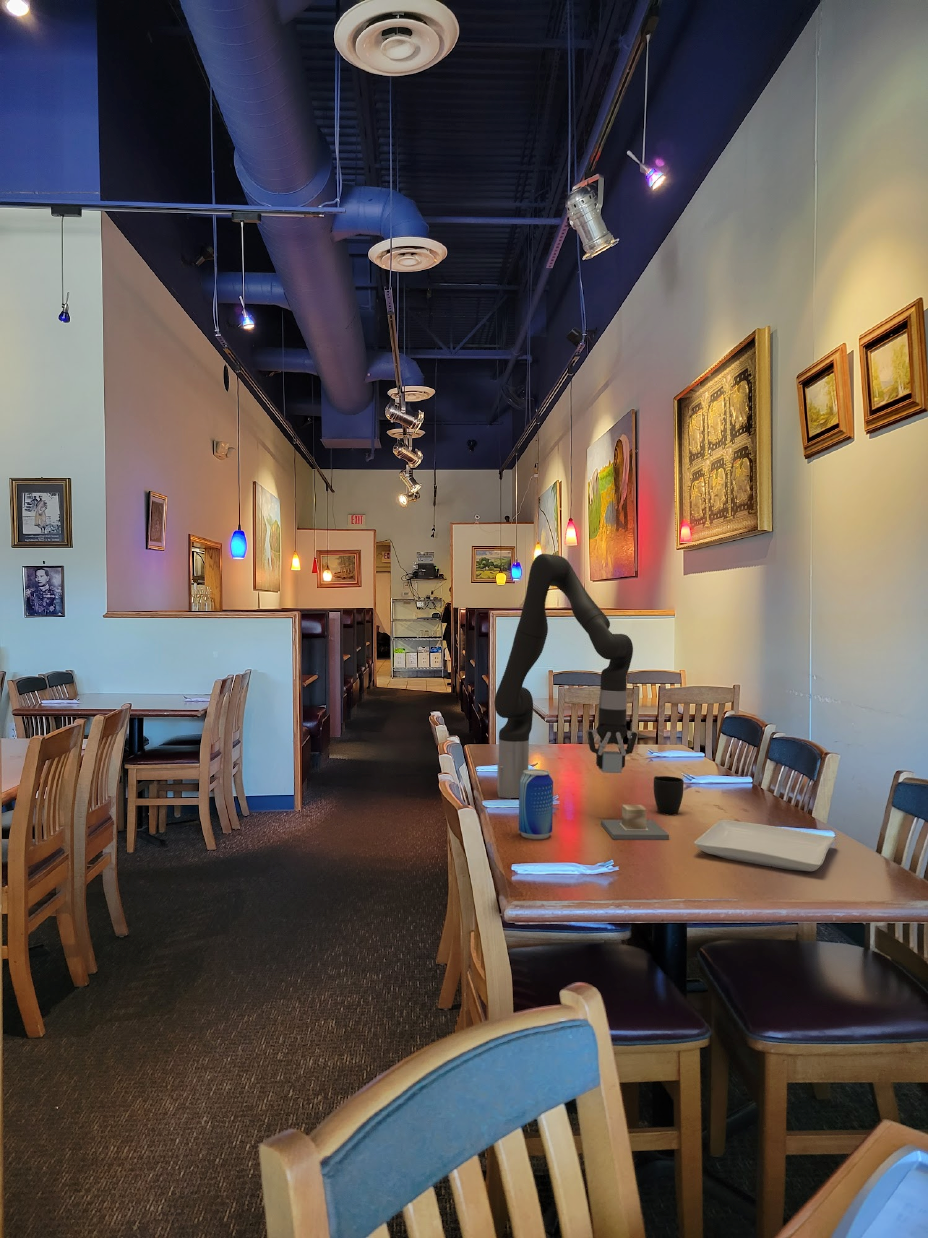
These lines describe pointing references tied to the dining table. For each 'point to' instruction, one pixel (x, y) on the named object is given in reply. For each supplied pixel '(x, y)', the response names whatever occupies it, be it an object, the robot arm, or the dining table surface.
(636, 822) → the maple cube
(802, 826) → the dining table surface
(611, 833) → the board
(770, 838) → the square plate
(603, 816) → the dining table surface
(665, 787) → the mug
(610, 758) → the bluegrey cube
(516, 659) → the robot arm
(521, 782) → the beer can
